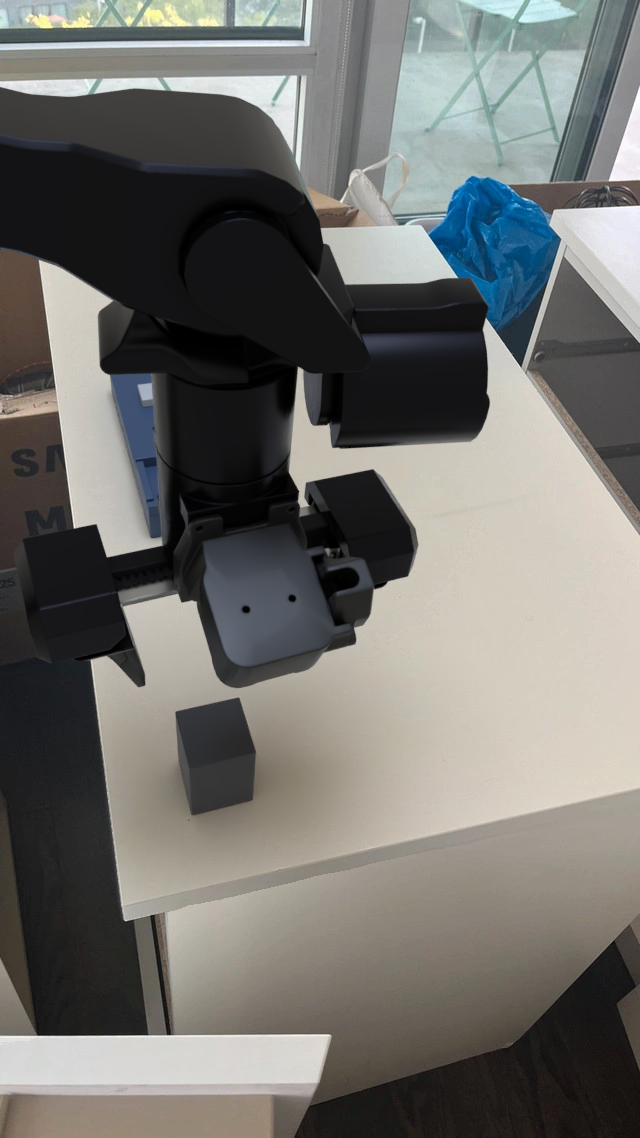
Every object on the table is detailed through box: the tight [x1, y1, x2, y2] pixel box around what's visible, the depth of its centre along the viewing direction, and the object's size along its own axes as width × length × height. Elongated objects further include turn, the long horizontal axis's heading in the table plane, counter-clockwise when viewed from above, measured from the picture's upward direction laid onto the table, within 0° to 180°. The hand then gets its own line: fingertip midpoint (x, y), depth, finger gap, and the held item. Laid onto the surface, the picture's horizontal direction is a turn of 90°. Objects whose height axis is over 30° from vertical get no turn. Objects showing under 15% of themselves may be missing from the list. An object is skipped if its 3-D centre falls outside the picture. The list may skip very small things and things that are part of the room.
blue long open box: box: [109, 374, 162, 539], centre depth 75 cm, size 6×20×4 cm, turn 18°
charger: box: [174, 697, 257, 816], centre depth 53 cm, size 4×4×6 cm
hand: (221, 659), depth 47 cm, fingers open, 9 cm apart
